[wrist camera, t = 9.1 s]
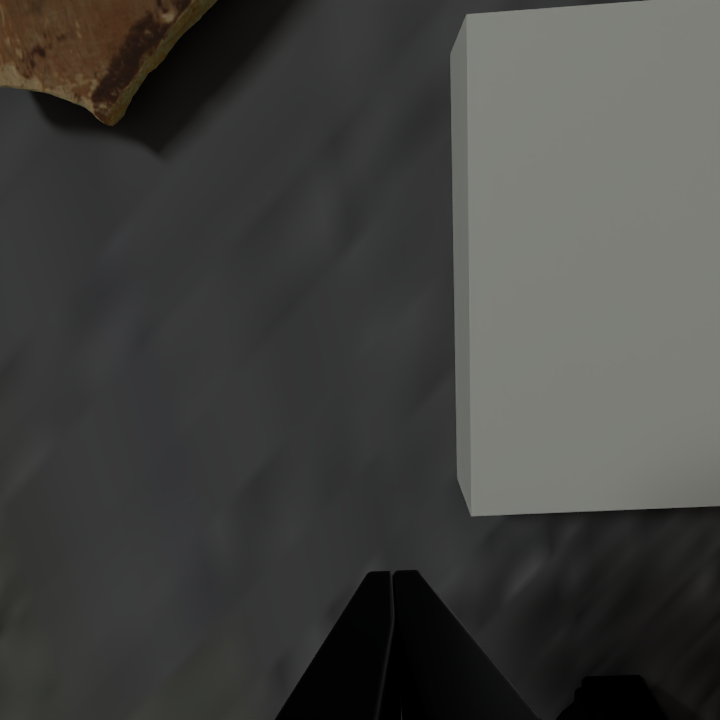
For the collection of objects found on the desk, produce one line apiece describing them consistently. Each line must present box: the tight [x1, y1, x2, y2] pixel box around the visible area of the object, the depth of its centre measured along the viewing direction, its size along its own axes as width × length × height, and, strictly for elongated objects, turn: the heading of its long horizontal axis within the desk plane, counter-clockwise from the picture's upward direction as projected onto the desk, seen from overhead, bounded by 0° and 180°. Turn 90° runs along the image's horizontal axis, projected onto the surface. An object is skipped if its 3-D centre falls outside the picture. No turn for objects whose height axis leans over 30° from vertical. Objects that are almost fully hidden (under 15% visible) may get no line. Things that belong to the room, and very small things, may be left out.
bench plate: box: [450, 0, 720, 516], centre depth 17 cm, size 16×10×3 cm, turn 3°
